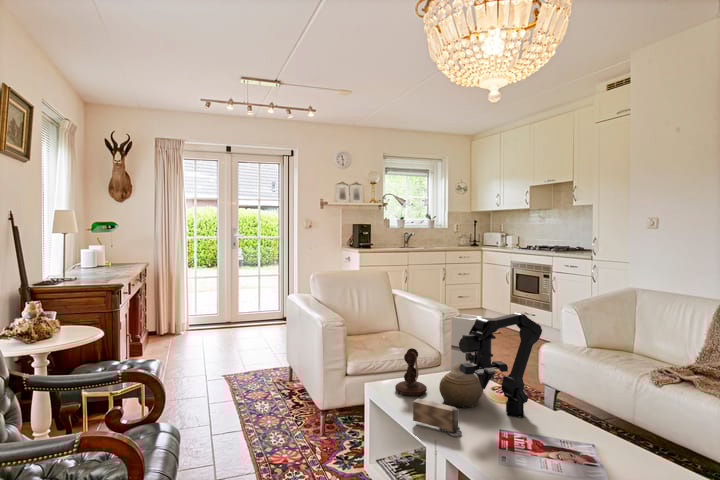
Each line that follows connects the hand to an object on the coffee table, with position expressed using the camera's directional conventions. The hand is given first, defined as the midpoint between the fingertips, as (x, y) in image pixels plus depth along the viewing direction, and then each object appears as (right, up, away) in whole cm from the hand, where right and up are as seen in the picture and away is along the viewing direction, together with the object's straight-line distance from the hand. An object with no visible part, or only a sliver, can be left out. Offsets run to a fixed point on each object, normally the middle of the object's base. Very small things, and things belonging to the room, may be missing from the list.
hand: (483, 388), depth 175 cm
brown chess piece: (-25, -13, +32) cm, 42 cm away
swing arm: (-20, -11, -7) cm, 24 cm away
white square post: (+2, -13, +37) cm, 39 cm away
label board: (-17, -13, 0) cm, 21 cm away
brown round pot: (-5, -13, +19) cm, 23 cm away
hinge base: (-14, -13, -11) cm, 22 cm away
